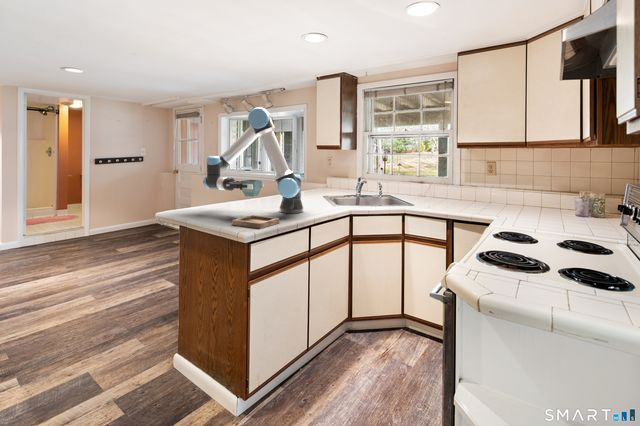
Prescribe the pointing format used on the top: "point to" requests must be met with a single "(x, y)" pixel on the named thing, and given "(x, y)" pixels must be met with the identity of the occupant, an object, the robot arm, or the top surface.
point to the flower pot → (255, 189)
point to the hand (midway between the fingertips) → (258, 186)
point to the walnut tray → (255, 221)
